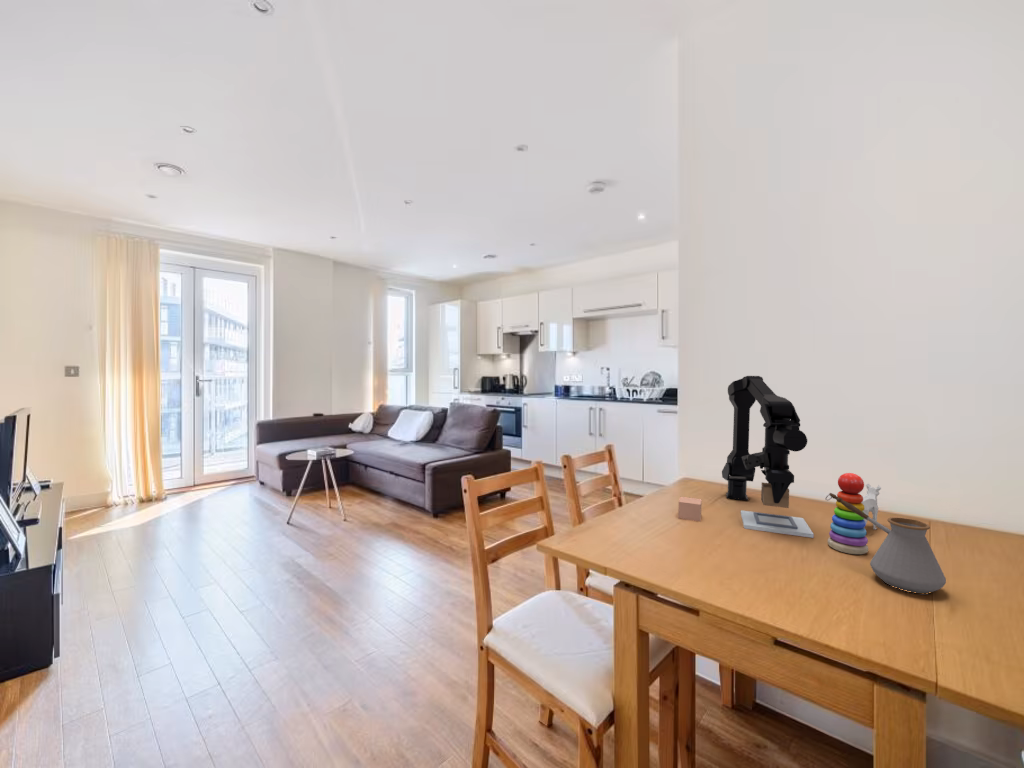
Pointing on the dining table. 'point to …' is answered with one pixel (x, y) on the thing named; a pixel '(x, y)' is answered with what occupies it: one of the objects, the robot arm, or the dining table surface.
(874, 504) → the cat figurine
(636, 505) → the dining table surface
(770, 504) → the walnut block
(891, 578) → the coffee pot
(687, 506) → the terracotta block
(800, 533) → the board
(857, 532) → the stacking toy
